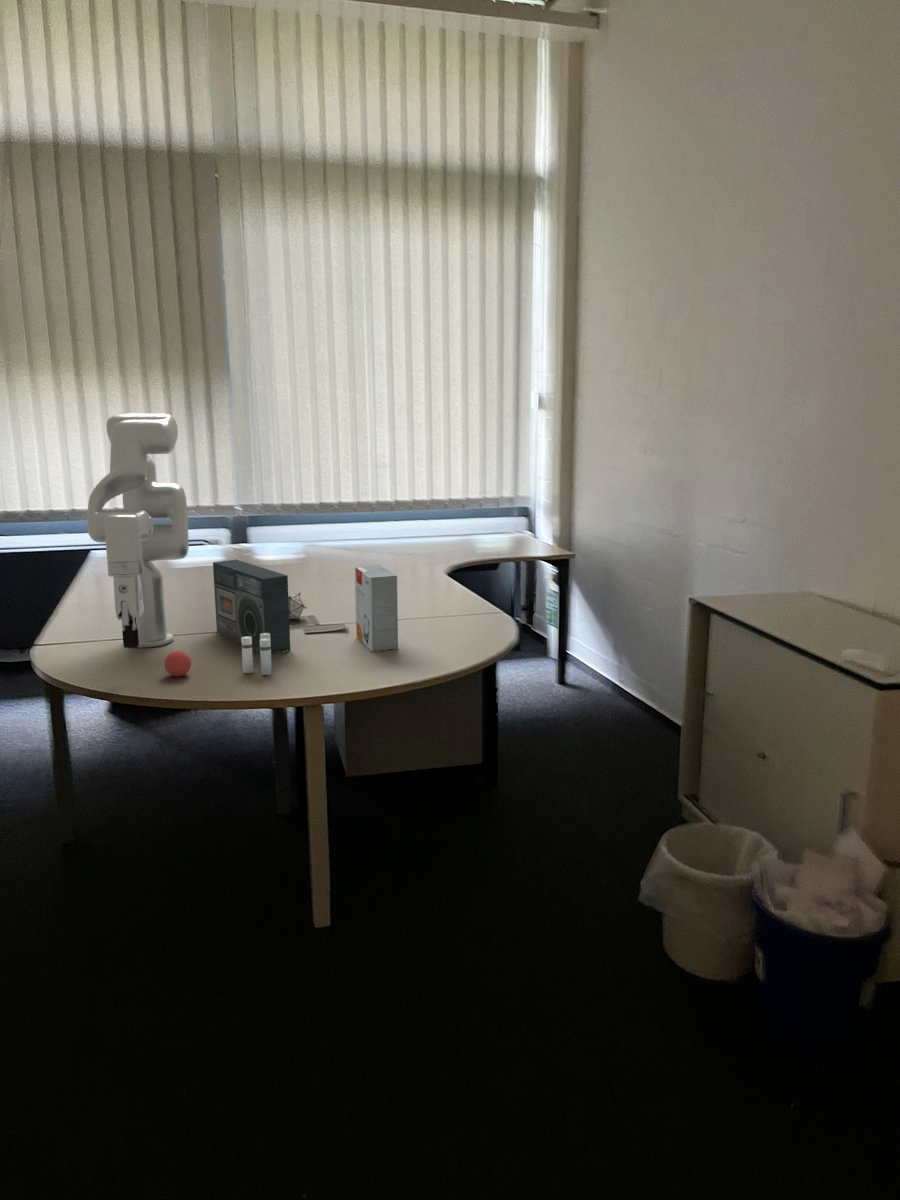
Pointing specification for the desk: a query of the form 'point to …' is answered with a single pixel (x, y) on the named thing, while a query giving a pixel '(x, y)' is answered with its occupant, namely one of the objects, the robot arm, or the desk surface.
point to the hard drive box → (376, 607)
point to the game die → (295, 606)
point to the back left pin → (265, 635)
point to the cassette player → (252, 603)
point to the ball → (177, 663)
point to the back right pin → (265, 656)
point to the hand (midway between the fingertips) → (131, 646)
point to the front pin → (247, 654)
